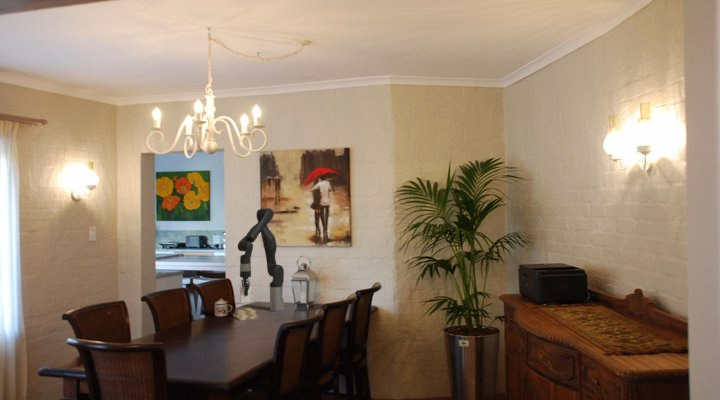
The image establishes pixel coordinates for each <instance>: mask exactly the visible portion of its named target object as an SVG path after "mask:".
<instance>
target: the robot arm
mask: <svg viewBox="0 0 720 400" xmlns="http://www.w3.org/2000/svg"><path fill="white" fill-rule="evenodd" d="M273 218H274V211H273V210H272V208H269V207H268V208H260V209H258V210H257V211H256V221H257V223H256V224H254V225H253V226H252V227H251V228H250V229H249V231H248V232H247V234H245V236H243V238H241V239H240V240H239V241H238V243H237V250H238V251H239V252H245V253H244V254H241V255H240V256H239V261H240V262H239V264H240V265H239V277H240V278H241V279H242V280H241V281H240V282H241V287H244V292H245V296H248V289H249V287H250V283H251V282H250V279H249V278H251V277H252V265H251V264H252V263H251V262H252V261H251V257H252V254H253V251H254V244H253V243H254V242H255V241H256V239H257V238H258V236H259V234H261V239H262V244H263V249H264V254H265V259H266V269H267V273H268V276H270V277H272V281H270V283H269V308H270V309H269V311H272V312H280V311H284V308H285V307H284V306H285V305H284V304H285V303H284V300H285V298H284V296H283V295H284V294H283V285H284V280H285V278H284V277H285V271H284V267H283V266H282V265H280V264H277V259H276V253H277V248H278V247H277V241H276V238H275V236H274V233H273V232H272V231H271V230H270V228H269V227H268V224H269V223H270V222H271V221H272V220H273ZM246 287H247V288H246Z"/></svg>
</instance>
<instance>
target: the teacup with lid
mask: <svg viewBox="0 0 720 400" xmlns="http://www.w3.org/2000/svg"><path fill="white" fill-rule="evenodd" d="M228 303H229V302H228V301H227V300H224V299H223V298H219V300H217V301H216V302H214V315H215V317H226V316H229V315H228V314H229V313H230V312H231V311H232V310H233V306H232V305H231V304H228ZM229 307H230V310H228V309H229Z"/></svg>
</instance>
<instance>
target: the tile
mask: <svg viewBox="0 0 720 400" xmlns="http://www.w3.org/2000/svg"><path fill="white" fill-rule="evenodd" d="M246 288H247V287H246ZM247 302H248V303H250V302H252V286H249V289H248V296H245V292H244V287H242V286H240V287H239V303H247Z"/></svg>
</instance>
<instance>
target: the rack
mask: <svg viewBox="0 0 720 400" xmlns="http://www.w3.org/2000/svg"><path fill="white" fill-rule="evenodd" d="M232 317H234V318H235V320H237V321H245V320H246V321H247V320H256V319H257V320H258V319H260V315H258V314H257V310H255V309H253V308H251V307H244V308H236V309H235V313H232Z"/></svg>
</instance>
